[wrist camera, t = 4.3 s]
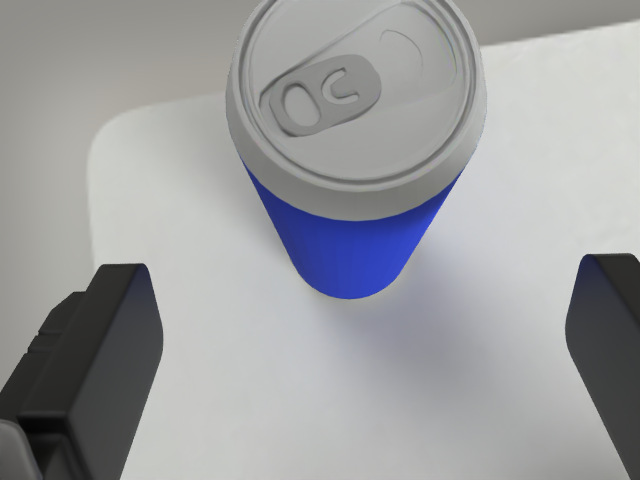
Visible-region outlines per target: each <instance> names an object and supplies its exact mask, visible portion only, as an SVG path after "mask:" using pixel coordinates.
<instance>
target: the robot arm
mask: <svg viewBox="0 0 640 480" xmlns="http://www.w3.org/2000/svg"><path fill="white" fill-rule="evenodd" d="M38 332H39V334H38V336H35V338H34V339H33V341H32V342H31V344H30V346H29V347H28V352H27V353H25V354H24V355H23V357H22V358H21V360H20V362H19V363H18V365H17V366H16V368H15V370H14V371H13V373H12V375H11V376H10V378H9V380H8V381H7V383H6V384H5V386H4V387H3V389H2V391H1V392H0V480H120V477H121V474H122V471H123V468H124V465H125V462H126V460H127V457H128V454H129V451H130V448H131V445H132V442H133V439H134V436H135V433H136V430H137V427H138V424H139V421H140V418H141V416H142V413H143V410H144V407H145V404H146V401H147V398H148V395H149V392H150V389H151V386H152V383H153V380H154V377H155V374H156V372H157V369H158V366H159V363H160V360H161V356H162V351H163V328H162V323H161V319H160V315H159V311H158V306H157V302H156V298H155V294H154V290H153V286H152V282H151V278H150V274H149V271H148V268H147V267H146V265H145V264H143V263H137V264H103V265H101V266H100V267H99V269H98V270H97V272H96V274H95V276H94V277H93V279H92V281H91V283H90V285H89V286H88V288H87V290H86V291H84V292H73V293H72V294H70V295H69V296H68V297H67V298H66V299H64V300H63V301H62V302H61V303H60V304H58V305H57V306H56V307H55V308H53V309H52V310H51V312H50V313H49V315H48V317H47V318H46V320H45V322H44V323H43V325H42V326H41V328H40V329H39V331H38ZM565 334H566V342H567V346H568V350H569V352H570V355H571V357H572V359H573V361H574V363H575V365H576V367H577V369H578V371H579V373H580V376H581V378H582V380H583V382H584V384H585V386H586V388H587V390H588V392H589V394H590V396H591V398H592V400H593V402H594V405H595V407H596V409H597V411H598V413H599V415H600V417H601V419H602V421H603V423H604V425H605V427H606V429H607V432H608V434H609V436H610V438H611V440H612V442H613V444H614V446H615V448H616V450H617V452H618V454H619V456H620V458H621V461H622V463H623V465H624V467H625V469H626V471H627V473H628V475H629V477H630V479H631V480H640V262H639V261H638V259H637V258H636V257H635V256H634V255H632V254H630V253H618V254H587V255H585V256H584V257H583V258H582V260H581V262H580V265H579V269H578V273H577V277H576V281H575V285H574V289H573V293H572V297H571V301H570V305H569V309H568V313H567V317H566V324H565Z"/></svg>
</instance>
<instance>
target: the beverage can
mask: <svg viewBox="0 0 640 480" xmlns="http://www.w3.org/2000/svg"><path fill="white" fill-rule="evenodd" d="M486 111H487V89H486V82H485V75H484V69H483V63H482V58H481V52H480V49H479V46H478V43H477V40H476V37H475V34H474V33H473V31H472V29H471V27H470V25H469V23H468V21H467V19H466V18H465V16H464V15H463V14H462V12H461V11H460V10H459V8H458V7H457V6H456V4H455V3H454V2H453V1H452V0H262V1H261V2H260V3H259V4H258V5H257V6H256V8H255V9H254V10H253V12H252V14H251V15H250V16H249V18H248V19H247V21H246V23H245V25H244V28H243V29H242V31H241V34H240V36H239V38H238V41H237V44H236V48H235V51H234V54H233V59H232V64H231V67H230V71H229V75H228V81H227V88H226V116H227V120H228V125H229V130H230V134H231V137H232V139H233V142H234V144H235V147H236V149H237V152H238V154H239V156H240V158H241V160H242V162H243V164H244V166H245V168H246V170H247V172H248V174H249V176H250V178H251V180H252V182H253V184H254V186H255V188H256V190H257V192H258V194H259V196H260V198H261V200H262V202H263V204H264V206H265V208H266V210H267V212H268V214H269V216H270V218H271V220H272V222H273V224H274V226H275V228H276V230H277V232H278V234H279V236H280V238H281V240H282V242H283V244H284V246H285V248H286V250H287V252H288V254H289V256H290V258H291V260H292V262H293V264H294V266H295V268H296V270H297V271H298V273H299V274H300V275H301V277H302V278H303V279H304V280H305V281H306V282H307V283H308V284H309V285H310V286H312V287H313V288H315V289H316V290H318V291H319V292H321V293H324V294H326V295H328V296H332V297H336V298H341V299H357V298H363V297H367V296H370V295H372V294H375V293H377V292H379V291H381V290H382V289H384V288H386V287H387V286H388V285H389V284H390V283H391V282H393V281H394V280H395V278H396V277H397V276H398V275H399V274H400V272H401V270H402V269H403V267H404V265H405V264H406V262H407V261H408V259H409V257H410V256H411V254H412V252H413V251H414V249H415V248H416V246H417V244H418V243H419V241H420V239H421V238H422V236H423V235H424V233H425V231H426V230H427V228H428V226H429V225H430V223H431V222H432V220H433V218H434V217H435V215H436V213H437V212H438V210H439V209H440V207H441V205H442V204H443V202H444V200H445V199H446V197H447V196H448V194H449V192H450V191H451V189H452V187H453V186H454V184H455V183H456V181H457V179H458V178H459V176H460V174H461V173H462V171H463V170H464V168H465V166H466V165H467V163H468V161H469V160H470V158H471V156H472V155H473V153H474V151H475V150H476V147H477V144H478V142H479V139H480V137H481V134H482V132H483V127H484V122H485V117H486Z"/></svg>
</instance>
